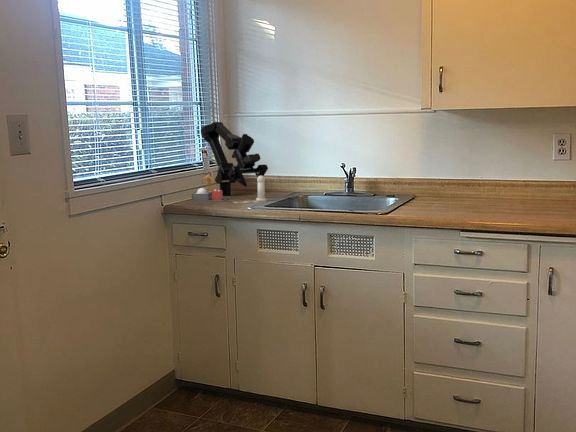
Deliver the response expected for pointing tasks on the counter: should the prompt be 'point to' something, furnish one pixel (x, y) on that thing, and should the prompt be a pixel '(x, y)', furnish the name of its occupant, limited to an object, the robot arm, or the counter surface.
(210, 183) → the figurine
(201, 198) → the popper base
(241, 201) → the track board
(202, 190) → the dome
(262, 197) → the pawn
